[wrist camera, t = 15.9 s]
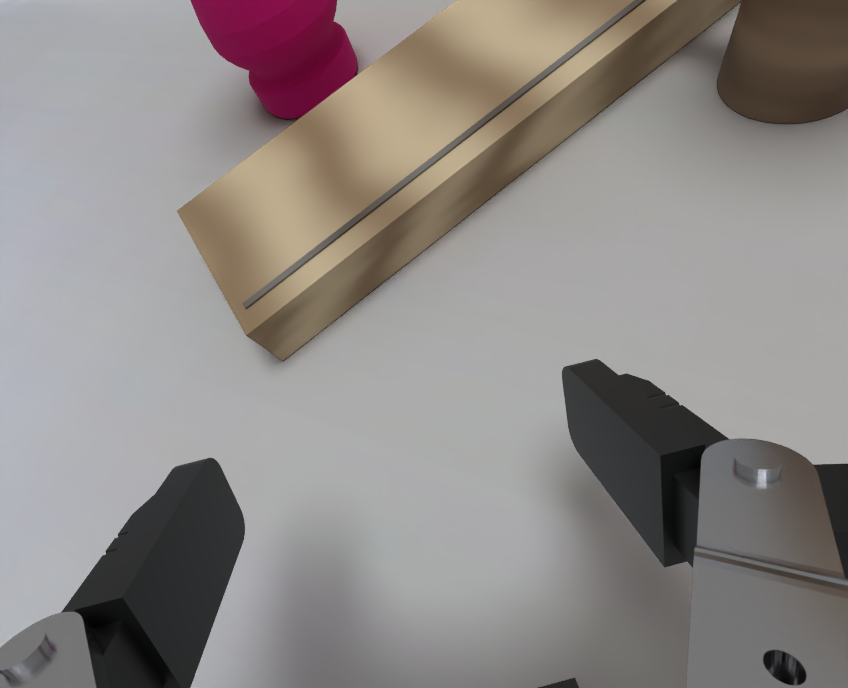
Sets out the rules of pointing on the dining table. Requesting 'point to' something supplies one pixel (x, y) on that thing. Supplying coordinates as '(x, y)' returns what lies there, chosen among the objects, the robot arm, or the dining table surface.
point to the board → (418, 149)
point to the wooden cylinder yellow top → (787, 60)
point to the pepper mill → (282, 49)
